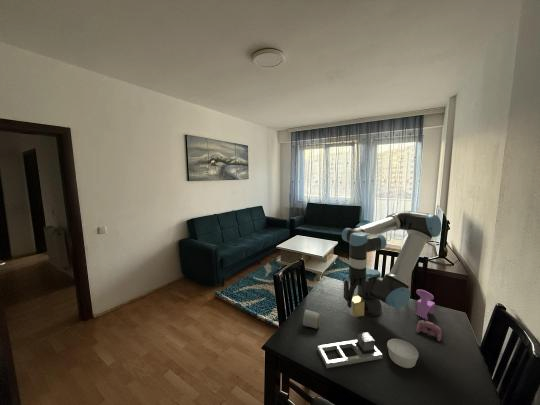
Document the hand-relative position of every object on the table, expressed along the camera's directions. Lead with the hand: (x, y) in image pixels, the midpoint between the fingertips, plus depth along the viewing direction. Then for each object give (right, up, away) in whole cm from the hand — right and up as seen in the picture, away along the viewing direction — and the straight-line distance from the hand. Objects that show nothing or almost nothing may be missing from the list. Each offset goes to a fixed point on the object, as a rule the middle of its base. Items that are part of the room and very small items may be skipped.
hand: (356, 312), depth 104 cm
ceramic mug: (-20, -12, +10) cm, 25 cm away
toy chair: (+45, -10, +18) cm, 50 cm away
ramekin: (+14, -14, -12) cm, 24 cm away
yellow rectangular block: (0, 0, 0) cm, 0 cm away
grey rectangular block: (+1, -13, -8) cm, 16 cm away
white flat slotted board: (-7, -13, -10) cm, 18 cm away
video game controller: (+36, -12, +2) cm, 38 cm away
